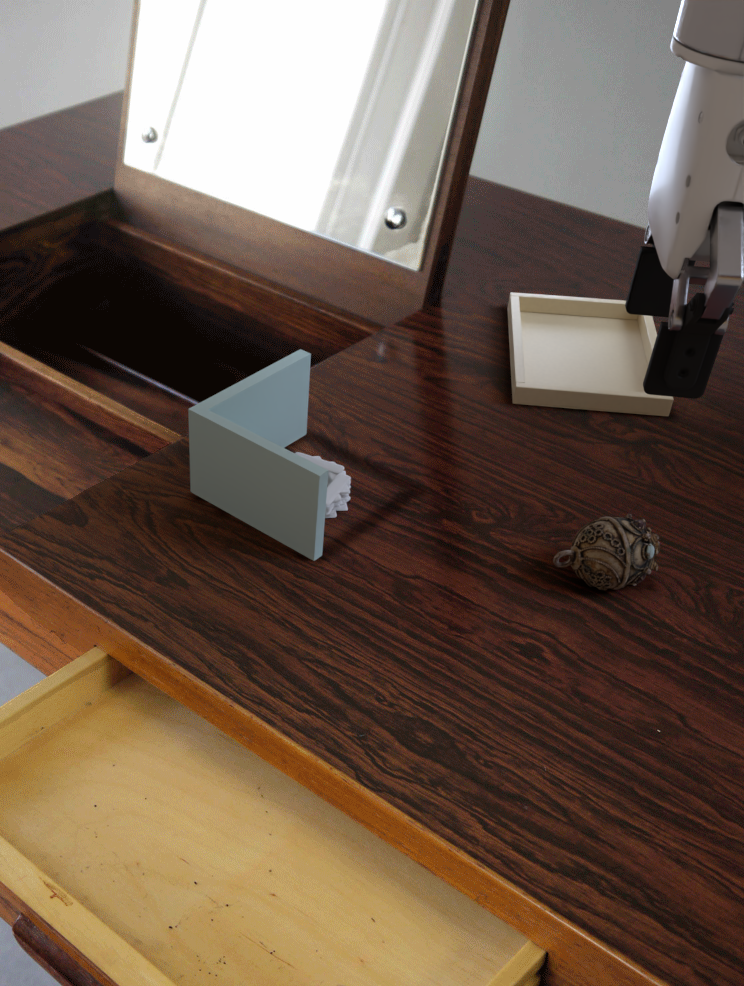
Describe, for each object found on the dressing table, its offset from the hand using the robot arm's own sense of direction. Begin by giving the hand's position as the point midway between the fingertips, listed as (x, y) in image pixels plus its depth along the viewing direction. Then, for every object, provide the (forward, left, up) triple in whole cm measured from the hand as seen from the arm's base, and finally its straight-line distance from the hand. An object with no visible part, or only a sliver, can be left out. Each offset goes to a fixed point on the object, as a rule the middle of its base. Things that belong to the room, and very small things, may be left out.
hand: (660, 351), depth 66 cm
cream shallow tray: (-1, -31, -17) cm, 36 cm away
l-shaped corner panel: (+21, -7, -18) cm, 28 cm away
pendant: (0, 0, -18) cm, 18 cm away
